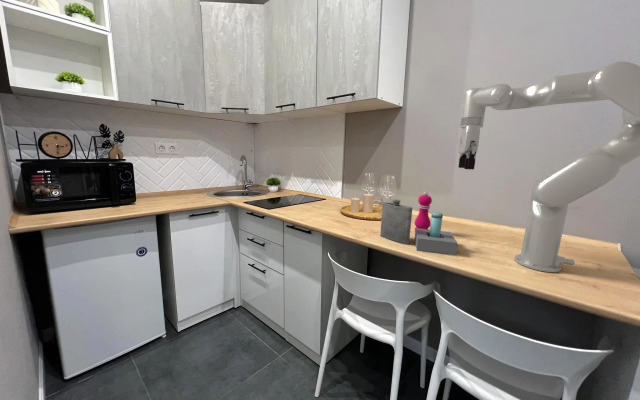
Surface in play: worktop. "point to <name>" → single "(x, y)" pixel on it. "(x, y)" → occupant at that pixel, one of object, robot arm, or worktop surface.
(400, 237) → the flask
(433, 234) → the peg
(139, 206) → the worktop surface
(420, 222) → the pepper mill
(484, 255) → the worktop surface
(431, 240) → the socket block
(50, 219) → the worktop surface
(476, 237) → the worktop surface
